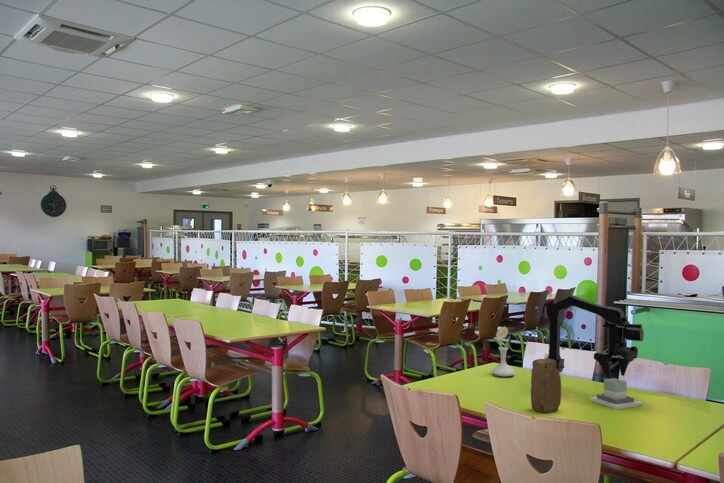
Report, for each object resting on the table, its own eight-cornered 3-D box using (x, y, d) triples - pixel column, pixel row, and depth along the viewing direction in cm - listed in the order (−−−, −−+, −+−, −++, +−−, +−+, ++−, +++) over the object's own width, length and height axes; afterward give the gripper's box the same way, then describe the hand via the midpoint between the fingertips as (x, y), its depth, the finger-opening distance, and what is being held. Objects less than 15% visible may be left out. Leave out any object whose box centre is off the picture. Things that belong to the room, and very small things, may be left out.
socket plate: (616, 409, 220) (616, 402, 220) (589, 400, 233) (589, 393, 233) (641, 405, 226) (641, 398, 226) (613, 396, 239) (613, 390, 239)
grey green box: (615, 402, 226) (615, 382, 226) (603, 398, 231) (603, 379, 231) (626, 400, 228) (626, 381, 228) (614, 397, 233) (614, 378, 234)
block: (541, 414, 213) (541, 362, 213) (528, 409, 220) (528, 358, 220) (563, 411, 217) (563, 360, 217) (550, 406, 224) (550, 356, 224)
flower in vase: (489, 372, 283) (489, 323, 284) (512, 373, 283) (512, 324, 283) (494, 378, 270) (495, 327, 271) (518, 379, 270) (518, 327, 270)
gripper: (614, 343, 219) (614, 382, 218) (648, 340, 226) (648, 378, 226) (592, 338, 229) (592, 376, 229) (625, 336, 236) (625, 372, 236)
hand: (615, 376), depth 230 cm, fingers open, 8 cm apart
